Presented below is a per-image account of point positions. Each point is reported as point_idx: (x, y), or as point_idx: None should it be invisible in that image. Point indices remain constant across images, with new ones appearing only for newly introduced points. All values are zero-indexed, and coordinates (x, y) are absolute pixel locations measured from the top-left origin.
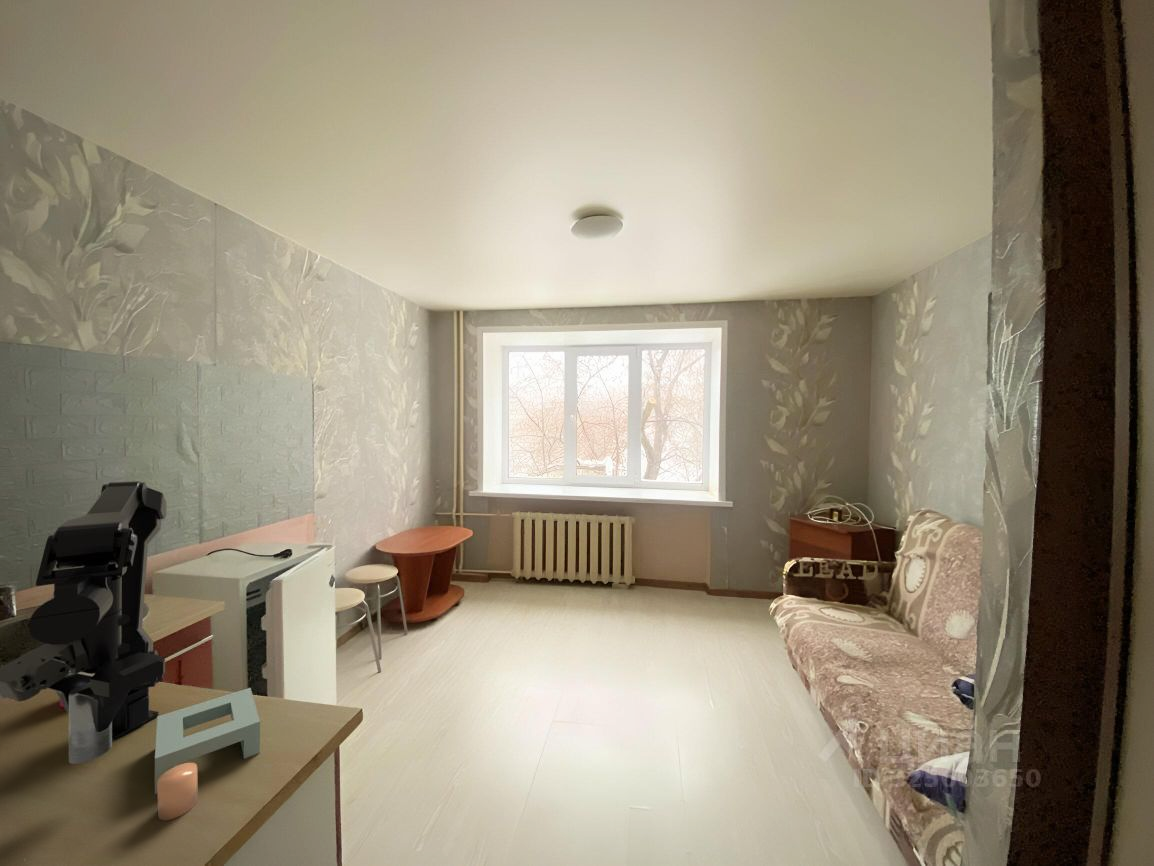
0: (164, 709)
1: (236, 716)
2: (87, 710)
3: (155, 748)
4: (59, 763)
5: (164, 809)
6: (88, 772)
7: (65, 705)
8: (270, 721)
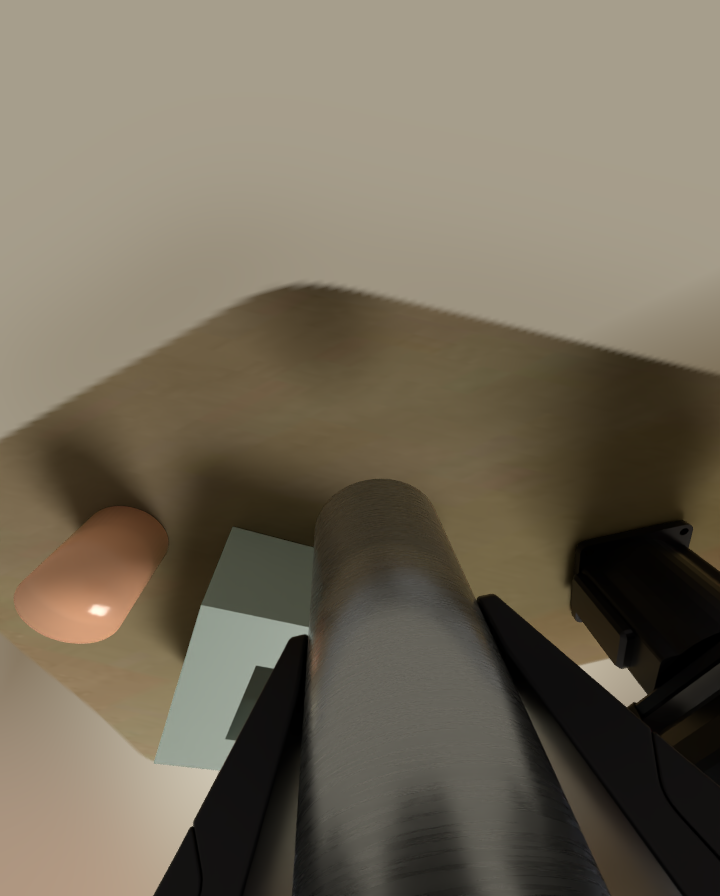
0: None
1: None
2: (306, 808)
3: (264, 618)
4: (615, 450)
5: (82, 527)
6: (492, 475)
7: (618, 740)
8: None
